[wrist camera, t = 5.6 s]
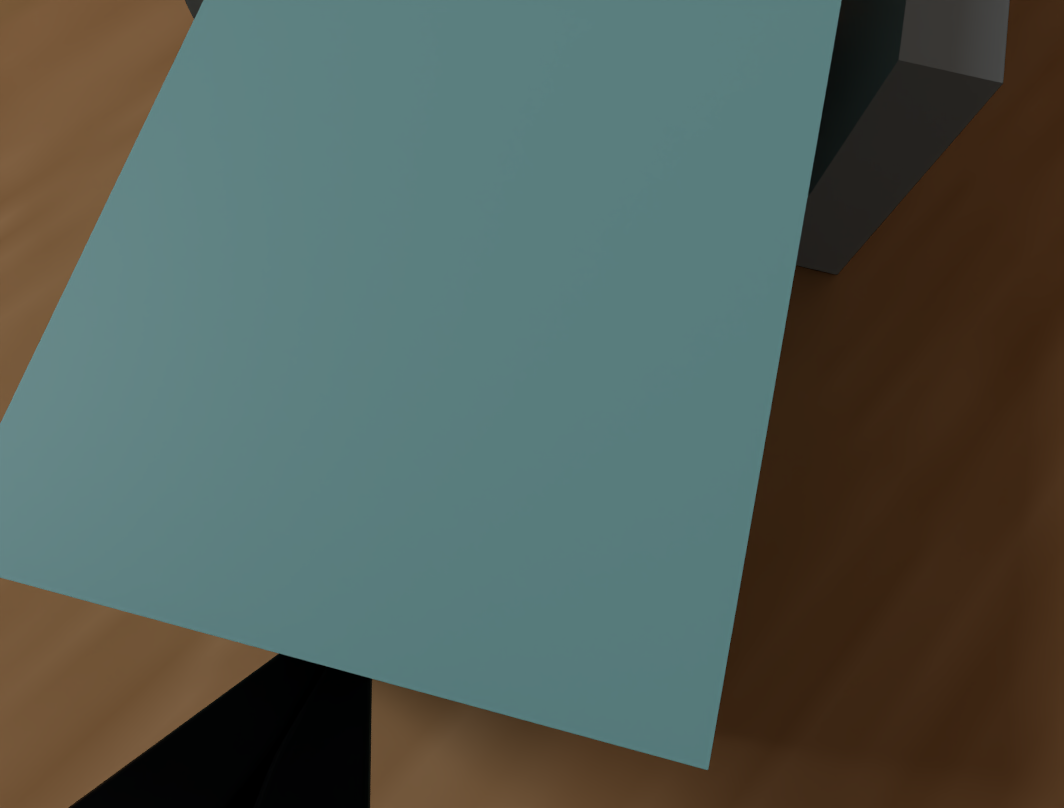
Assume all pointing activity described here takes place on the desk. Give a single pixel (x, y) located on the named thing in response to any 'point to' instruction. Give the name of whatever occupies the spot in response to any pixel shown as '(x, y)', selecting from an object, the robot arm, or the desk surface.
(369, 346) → the teal block
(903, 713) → the desk surface
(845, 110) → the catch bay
